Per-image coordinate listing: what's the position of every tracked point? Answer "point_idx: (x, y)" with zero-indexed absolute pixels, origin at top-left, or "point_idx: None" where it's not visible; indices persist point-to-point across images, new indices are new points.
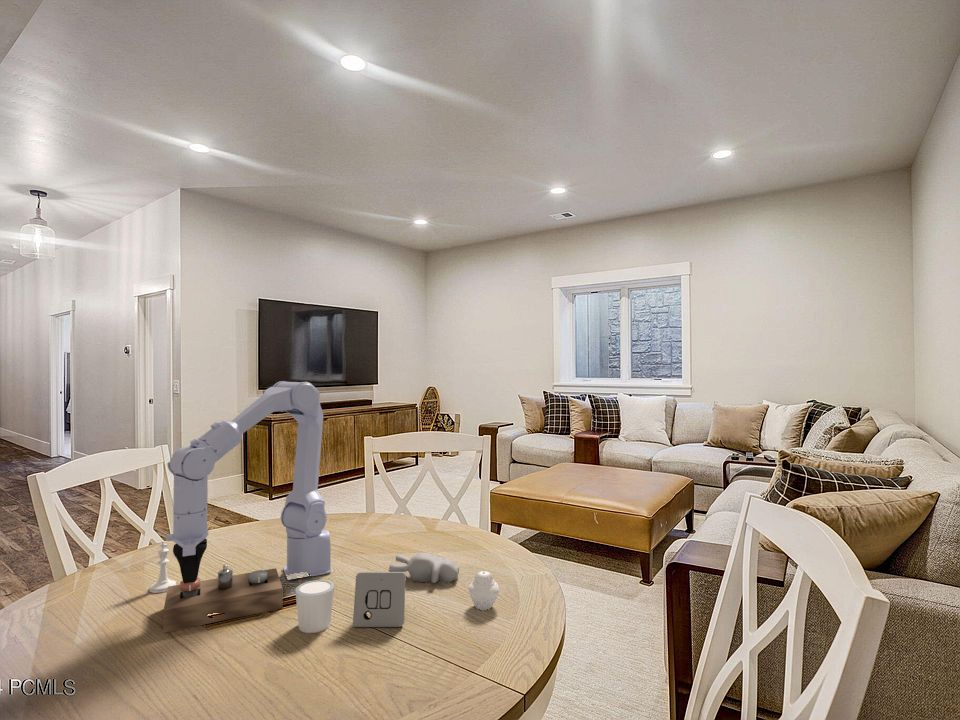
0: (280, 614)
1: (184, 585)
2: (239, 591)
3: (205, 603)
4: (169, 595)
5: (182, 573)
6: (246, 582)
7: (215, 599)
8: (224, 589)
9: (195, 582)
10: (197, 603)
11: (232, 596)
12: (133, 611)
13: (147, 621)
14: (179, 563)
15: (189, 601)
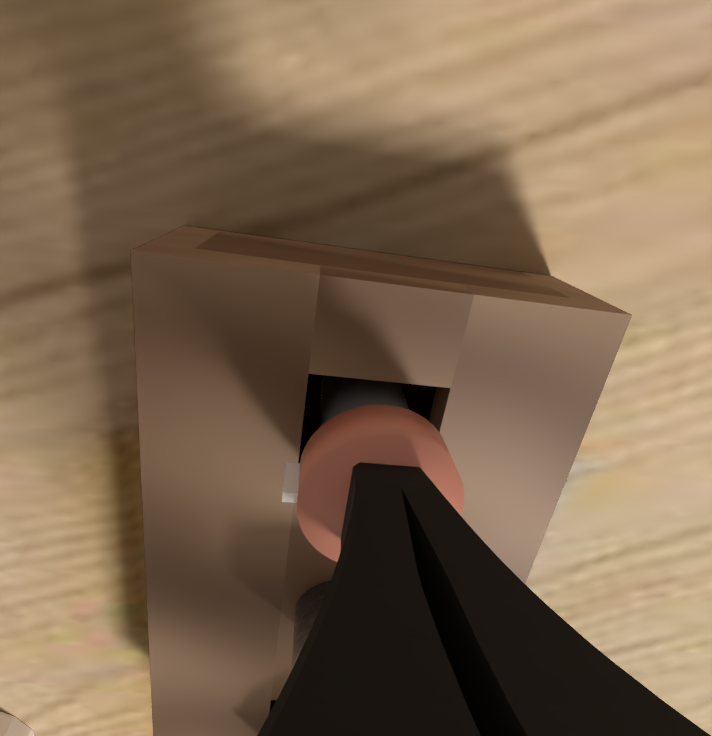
0: (129, 672)
1: (314, 461)
2: (220, 661)
3: (143, 505)
4: (429, 313)
5: (350, 528)
6: None
7: (162, 559)
8: (296, 608)
9: (319, 537)
10: (148, 469)
11: (163, 631)
12: (654, 64)
13: (418, 145)
14: (304, 648)
15: (216, 428)
